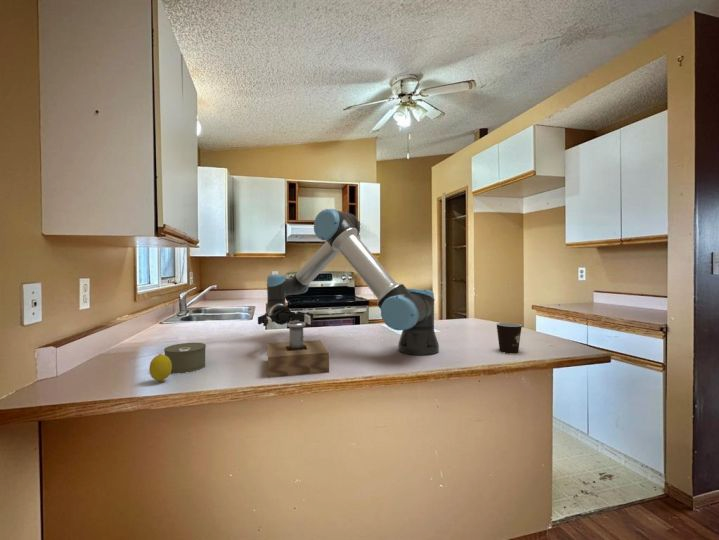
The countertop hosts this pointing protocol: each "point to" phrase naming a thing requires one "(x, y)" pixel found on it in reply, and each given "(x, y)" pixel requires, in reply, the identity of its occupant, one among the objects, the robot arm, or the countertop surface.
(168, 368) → the lemon
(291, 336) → the pin
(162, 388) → the countertop surface
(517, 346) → the coffee mug
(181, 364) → the can
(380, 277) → the robot arm
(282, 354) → the block
